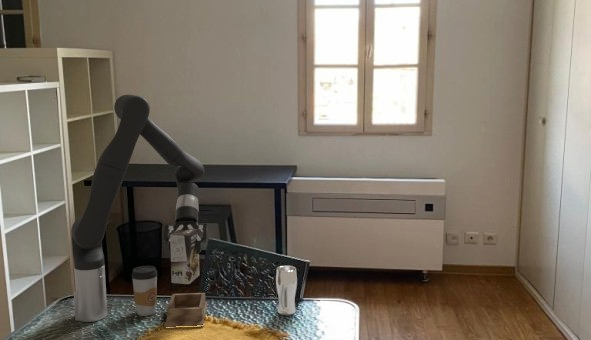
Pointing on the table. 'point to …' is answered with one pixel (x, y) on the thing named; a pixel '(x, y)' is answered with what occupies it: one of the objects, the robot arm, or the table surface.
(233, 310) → the table surface
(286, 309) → the beer glass
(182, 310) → the brown open box holder
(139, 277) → the coffee cup
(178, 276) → the coffee box
